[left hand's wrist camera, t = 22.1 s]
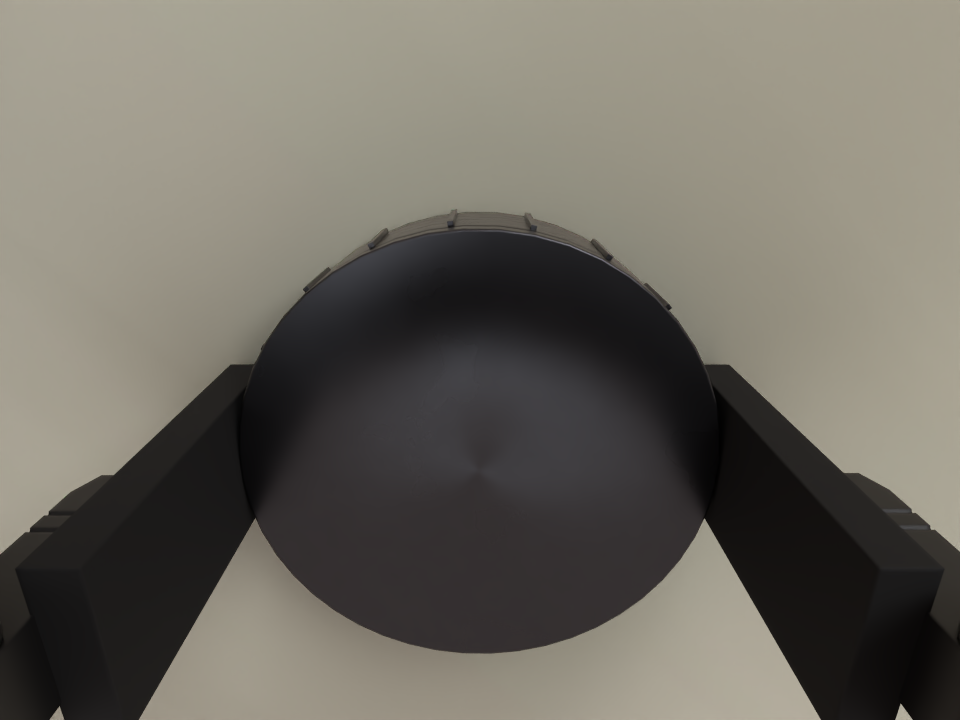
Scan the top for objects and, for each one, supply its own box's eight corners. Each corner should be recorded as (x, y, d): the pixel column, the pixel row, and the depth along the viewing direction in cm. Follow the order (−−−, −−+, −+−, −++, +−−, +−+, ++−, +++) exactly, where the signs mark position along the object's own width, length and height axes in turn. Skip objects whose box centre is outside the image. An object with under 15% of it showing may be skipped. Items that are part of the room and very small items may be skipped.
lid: (753, 470, 14) (800, 530, 12) (429, 637, 16) (420, 714, 14) (550, 114, 12) (565, 110, 9) (188, 362, 13) (132, 406, 11)
